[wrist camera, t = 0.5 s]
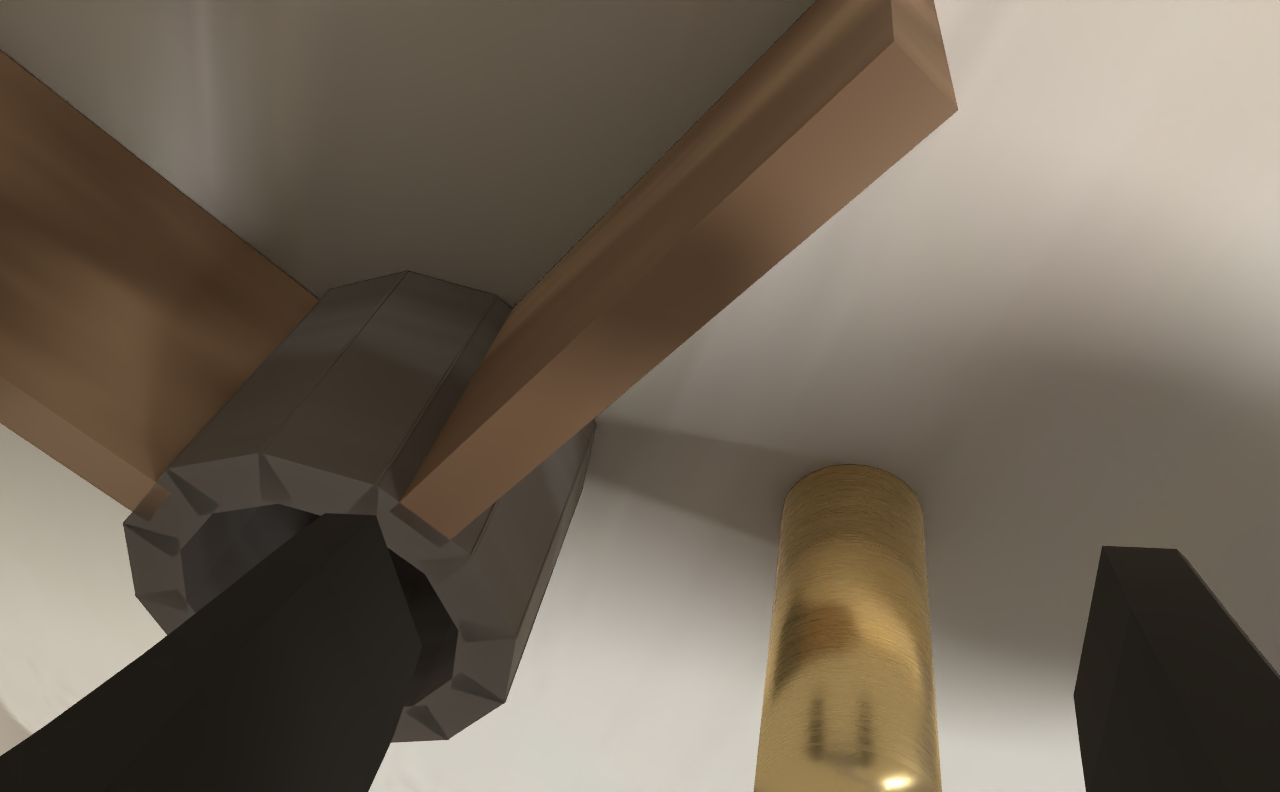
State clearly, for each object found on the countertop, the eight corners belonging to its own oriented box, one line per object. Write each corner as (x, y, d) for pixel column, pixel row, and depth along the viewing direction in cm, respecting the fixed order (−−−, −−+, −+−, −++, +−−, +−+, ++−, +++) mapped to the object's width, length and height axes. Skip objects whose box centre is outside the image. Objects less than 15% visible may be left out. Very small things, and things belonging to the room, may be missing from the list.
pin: (952, 526, 21) (983, 826, 15) (846, 586, 23) (839, 878, 17) (858, 440, 20) (854, 725, 15) (754, 510, 22) (716, 790, 16)
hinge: (1051, 115, 16) (1132, 297, 11) (474, 574, 25) (379, 784, 20) (151, -890, 11) (-379, -1328, 7) (-158, 113, 20) (-477, 241, 15)
